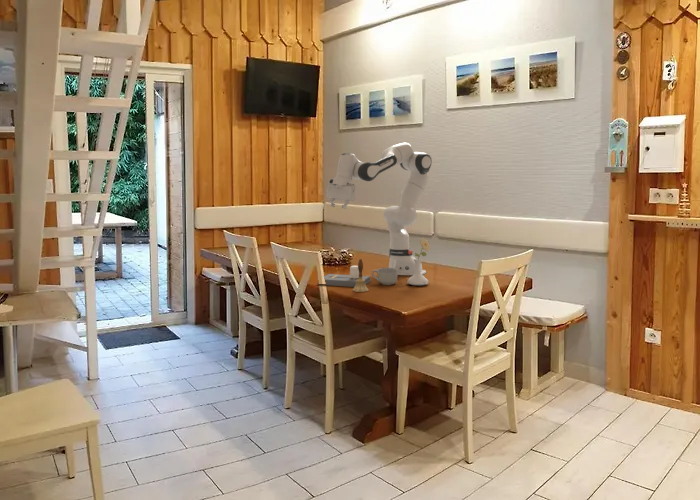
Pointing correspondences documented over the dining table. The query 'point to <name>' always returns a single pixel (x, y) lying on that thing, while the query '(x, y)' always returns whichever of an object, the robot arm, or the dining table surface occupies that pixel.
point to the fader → (354, 272)
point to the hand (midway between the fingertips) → (338, 207)
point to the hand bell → (360, 280)
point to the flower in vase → (418, 277)
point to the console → (343, 280)
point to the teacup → (386, 275)
